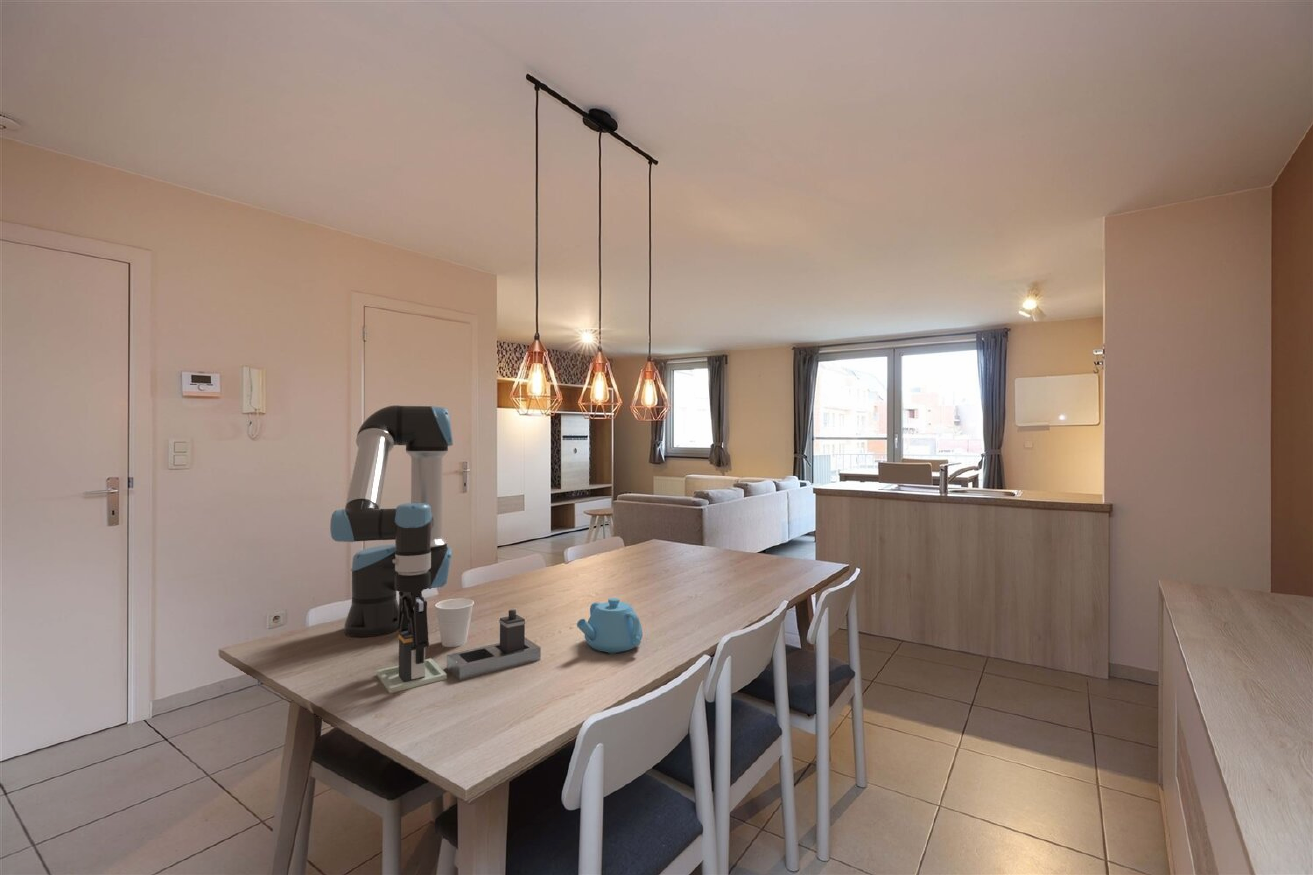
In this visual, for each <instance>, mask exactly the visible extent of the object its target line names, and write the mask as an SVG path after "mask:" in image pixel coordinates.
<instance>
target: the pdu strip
mask: <svg viewBox="0 0 1313 875" xmlns="http://www.w3.org/2000/svg"><path fill="white" fill-rule="evenodd" d="M541 657H542V656H541V646H539V645H537V643H535V642H533V641H532V640H530V639H528V638H527V637H525V646H524V649H523V650H519V651H515V652H511V653H507V654H504V653H503V652H502V651H500V642H498V643H497V642H496V643H494V644H489V645H485V646H480V647H476V648H471V649H467V650H462V651H458V652H453V653H449V654H446V669H447V670H448V671H449V672H450V673H451V674H453V676H455V677H456V679H458V681H463V680H467V679H471V678H474V677H479V676H482V675H485V674H490V673H494V672H498V671H502V670H505V669H509V668H513V667H517V666H521V665H522V666H523V665H525V664H529V663H533V662H536V661H540V660H541Z"/></svg>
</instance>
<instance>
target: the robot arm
mask: <svg viewBox="0 0 1313 875" xmlns="http://www.w3.org/2000/svg"><path fill="white" fill-rule="evenodd" d="M359 427H360V428H359V430H358V431H357V435H356V438H355V439H356V440H355V441H356V442H355V444H356V445H357V448H358V449H357V453H356V457H355V462H354V466H353V470H352V475H351V480H350V484H349V489H348V492H347V498H346V502H345V506H344V508H343V509H338V510H334V511H333V513H332V514H331V518H330V524H329V525H330V527H329V528H330V536H331V539H332V541H334V542H340V543H345V542H347V543H348V542H349V543H354V542H369V541H391V540H392V541H394V540H395V541H394V542H395V544H391V545H390V544H385V545H377V546H373V547H369V548H364V549H362V550H360V551H358V552H356V553H355V554H354V555H353V557H352V563H351V564H352V565H351V570H350V571H351V605H350V607H349V610H348V613H347V615H346V619H345V621H344V622H345V623H344V626H343V629H344V630H343V631H344V632H343V633H344V634H345V635H347V636H349V637H354V638H355V637H356V638H365V637H367V638H368V637H375V636H382V635H386V634H390V633H393V632H395V631H398V633H399V632H403V631H408V624H411V632H412V641H413V647H411V648H410V651H411V650H412V656H411V678H412V679H415V678H419V677H423V676H425V659H426V648H429V646H430V643H429V640H430V639H429V629H428V628H429V625H428V614H427V613H428V610H427V609H428V601H427V600H425V598H424V596H423V595H422V594H423V593H422V592H423V591H424V590H427V589H428V590H431V589H437V588H443V587H445V586H446V585H447V583H448V578H449V573H450V566H451V560H452V559H451V558H452V551H453V548H452V547H449V546H448V541H447V540H446V539H445V538H444V537H443V536H442V535H443V534H442V532H443V526H442V525H443V459H444V458H443V457H444V456H445V455H446V454H447V453H448V452H449V447H452V446H453V444H454V441H453V432H452V425H451V416H450V412H449V410H448V409H447V408H446V407H443V406H435V405H434V406H433V405H430V406H427V405H425V406H424V405H423V406H422V405H388V406H385V407H383V408H380V409H378V410H377V411H375V412H373V413H372V414H370V415H369V416H368V417H367V418H366V419H365V420H364V422H362V424H361V426H359ZM394 446H405V453H406V454H408V455H409V456H410V459H411V463H410V464H411V467H410V468H411V470H410V502H409V503H403V504H402V503H401V504H399V505H397V506H396V508H380V507H381V502H382V496H383V489H384V484H385V477H386V472H387V471H386V470H387V466H388V465H387V464H388V459H389V453H390V452H391V451H392V450H393V449H394ZM397 592H398V600H397ZM420 642H421V643H420Z"/></svg>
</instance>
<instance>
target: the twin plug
mask: <svg viewBox="0 0 1313 875" xmlns="http://www.w3.org/2000/svg"><path fill="white" fill-rule="evenodd" d="M498 623H499V643H500V651H502V652H503V653H504V654H507V653H511V652H515V651H519V650H523V649H524V646H525V638H526V637H525V635H526V634H525V627H526V626H525V625H526V619H525V618H523V617H521V616H520V615H518V614H517V609H509V610H508V616H504V617H500V618H499V622H498Z"/></svg>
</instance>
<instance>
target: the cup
mask: <svg viewBox="0 0 1313 875" xmlns="http://www.w3.org/2000/svg"><path fill="white" fill-rule="evenodd" d="M474 604H475V601H474V600H472V599H470V598H450V599H449V598H448V599H444V600H440V601H438V602H436V604H435V605H434V607H435V610H436V617H437V622H438V623H437V624H438V629H439V634H440V641H441V642H440V643H441V646H442V647H444V648H455V647H456V648H457V647H461V646H463V645H465V644H466V643H467V641H468V634H469V629H470V623H471V618H472V612H473V607H474Z"/></svg>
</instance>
